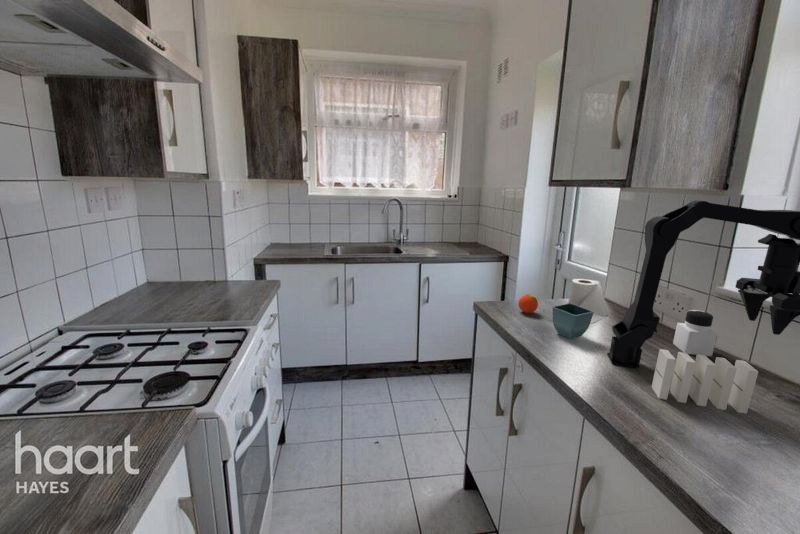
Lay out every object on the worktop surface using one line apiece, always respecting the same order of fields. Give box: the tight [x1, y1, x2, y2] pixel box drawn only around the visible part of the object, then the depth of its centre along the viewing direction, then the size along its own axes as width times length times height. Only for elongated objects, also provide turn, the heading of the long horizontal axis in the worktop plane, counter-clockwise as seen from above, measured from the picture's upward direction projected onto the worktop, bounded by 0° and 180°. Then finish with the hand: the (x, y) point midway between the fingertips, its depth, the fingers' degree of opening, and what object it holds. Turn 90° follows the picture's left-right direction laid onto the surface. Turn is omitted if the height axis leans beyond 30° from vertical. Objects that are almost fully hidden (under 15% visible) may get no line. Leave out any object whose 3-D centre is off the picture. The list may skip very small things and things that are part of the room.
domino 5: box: [728, 359, 759, 414], centre depth 81 cm, size 2×5×10 cm, turn 162°
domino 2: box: [669, 351, 696, 404], centre depth 84 cm, size 2×5×10 cm, turn 162°
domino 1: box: [651, 348, 677, 401], centre depth 85 cm, size 2×5×10 cm, turn 162°
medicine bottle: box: [672, 309, 718, 357], centre depth 108 cm, size 7×7×12 cm
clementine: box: [517, 294, 541, 314], centre depth 136 cm, size 8×7×7 cm
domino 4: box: [708, 356, 737, 411], centre depth 82 cm, size 2×5×10 cm, turn 162°
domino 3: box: [688, 354, 716, 407], centre depth 83 cm, size 2×5×10 cm, turn 162°
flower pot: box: [552, 302, 595, 340], centre depth 117 cm, size 9×9×9 cm
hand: (763, 327), depth 90 cm, fingers open, 9 cm apart
